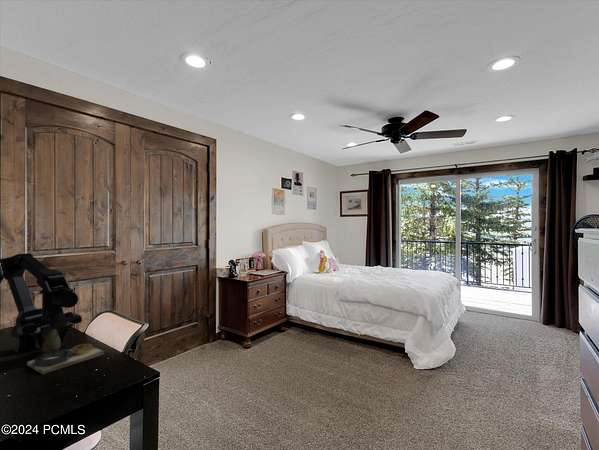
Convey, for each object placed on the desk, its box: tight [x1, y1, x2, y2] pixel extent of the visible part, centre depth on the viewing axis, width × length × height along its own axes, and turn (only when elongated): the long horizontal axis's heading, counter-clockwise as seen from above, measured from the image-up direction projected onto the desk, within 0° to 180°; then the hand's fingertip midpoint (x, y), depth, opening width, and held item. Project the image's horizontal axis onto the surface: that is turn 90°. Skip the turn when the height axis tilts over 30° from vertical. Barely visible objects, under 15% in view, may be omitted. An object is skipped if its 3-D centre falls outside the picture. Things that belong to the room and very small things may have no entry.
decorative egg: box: [40, 327, 61, 354], centre depth 116 cm, size 6×6×10 cm
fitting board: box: [26, 346, 105, 375], centre depth 111 cm, size 13×19×1 cm
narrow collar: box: [71, 342, 94, 355], centre depth 116 cm, size 6×6×2 cm
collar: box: [34, 348, 72, 367], centre depth 108 cm, size 10×10×2 cm
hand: (50, 346), depth 116 cm, fingers closed on decorative egg, 6 cm apart
